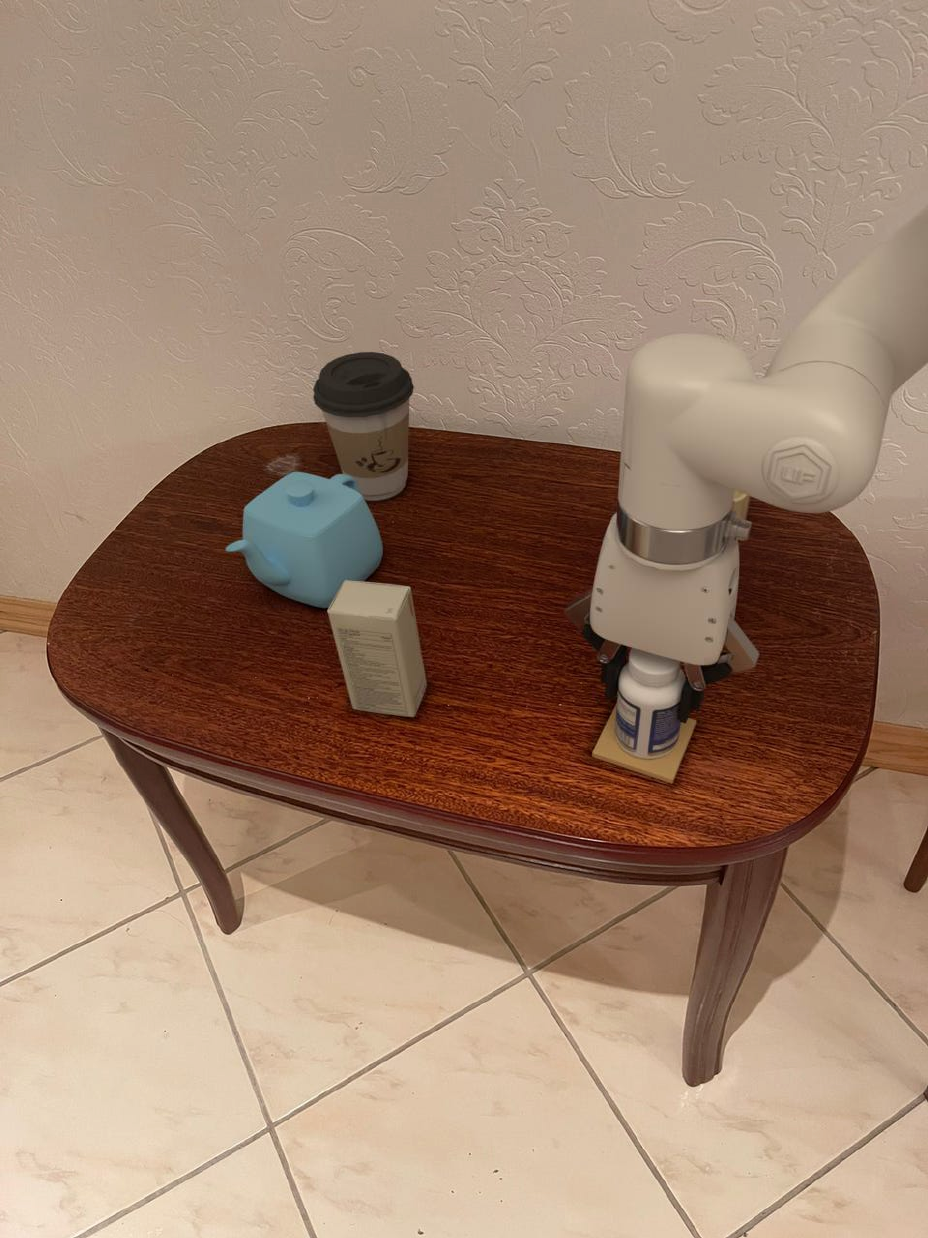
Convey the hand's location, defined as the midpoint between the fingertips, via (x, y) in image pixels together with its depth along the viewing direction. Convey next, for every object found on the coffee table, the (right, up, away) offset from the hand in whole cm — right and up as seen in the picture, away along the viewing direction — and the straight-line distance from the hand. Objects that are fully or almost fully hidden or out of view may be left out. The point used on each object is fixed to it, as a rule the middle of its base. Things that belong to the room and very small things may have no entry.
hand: (650, 697), depth 73 cm
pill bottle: (0, -4, +3) cm, 5 cm away
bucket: (+12, +18, +26) cm, 34 cm away
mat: (0, -4, +4) cm, 5 cm away
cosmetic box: (-22, -1, +9) cm, 24 cm away
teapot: (-32, +10, +22) cm, 40 cm away
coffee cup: (-26, +23, +36) cm, 50 cm away
